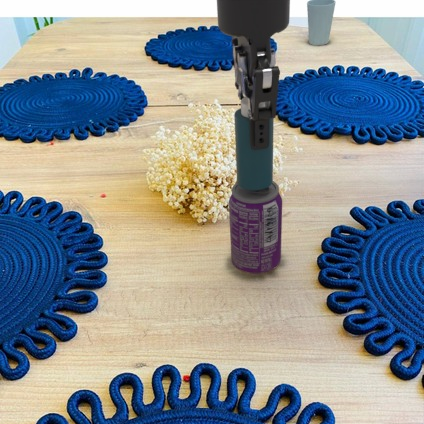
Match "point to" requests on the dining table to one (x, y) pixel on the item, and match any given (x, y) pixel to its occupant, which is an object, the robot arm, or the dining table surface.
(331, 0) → the cup
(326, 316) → the dining table surface
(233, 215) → the beverage can
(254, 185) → the bottle
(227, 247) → the dining table surface
